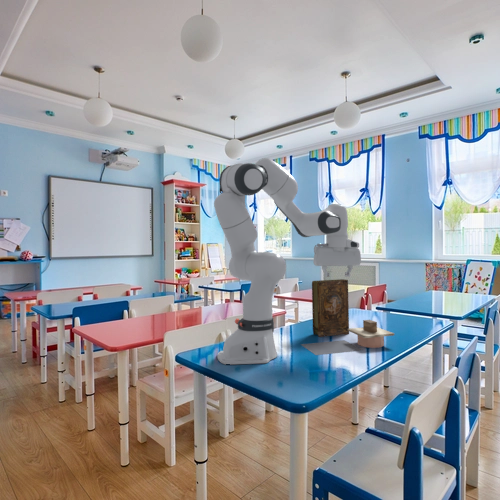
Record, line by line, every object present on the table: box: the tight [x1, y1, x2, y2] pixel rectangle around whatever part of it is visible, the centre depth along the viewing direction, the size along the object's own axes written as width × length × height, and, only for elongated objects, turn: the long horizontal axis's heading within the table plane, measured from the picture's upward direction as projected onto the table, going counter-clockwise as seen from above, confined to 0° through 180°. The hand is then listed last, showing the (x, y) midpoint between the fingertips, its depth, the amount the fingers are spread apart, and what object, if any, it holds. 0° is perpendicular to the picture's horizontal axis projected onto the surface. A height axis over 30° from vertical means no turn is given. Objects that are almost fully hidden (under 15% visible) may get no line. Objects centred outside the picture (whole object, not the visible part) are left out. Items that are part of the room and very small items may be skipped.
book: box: [311, 278, 350, 338], centre depth 159 cm, size 16×6×25 cm, turn 105°
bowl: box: [357, 335, 385, 349], centre depth 141 cm, size 10×10×5 cm
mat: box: [300, 340, 364, 356], centre depth 138 cm, size 20×15×1 cm
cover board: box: [348, 319, 395, 338], centre depth 141 cm, size 13×13×5 cm
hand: (337, 276), depth 145 cm, fingers open, 8 cm apart
